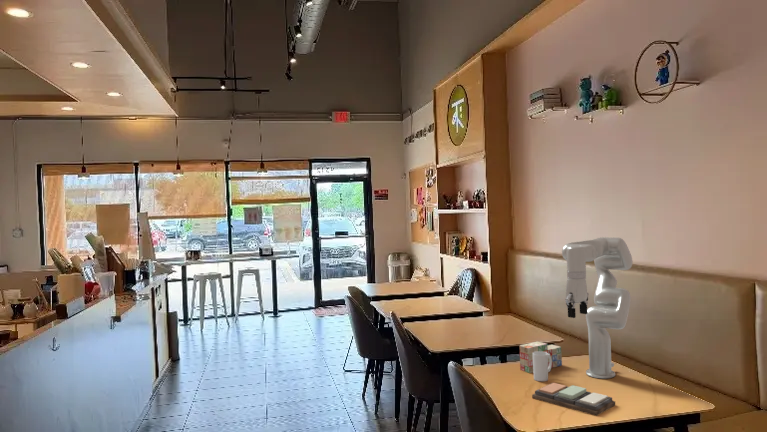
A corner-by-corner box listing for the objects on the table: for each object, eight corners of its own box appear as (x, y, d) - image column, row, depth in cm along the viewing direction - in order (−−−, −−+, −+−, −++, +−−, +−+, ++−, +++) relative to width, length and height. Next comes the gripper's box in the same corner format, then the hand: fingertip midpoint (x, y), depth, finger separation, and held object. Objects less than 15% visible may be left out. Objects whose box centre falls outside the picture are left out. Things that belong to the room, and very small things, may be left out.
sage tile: (572, 389, 229) (572, 385, 229) (586, 392, 225) (586, 388, 225) (558, 395, 222) (558, 392, 222) (572, 399, 218) (572, 395, 218)
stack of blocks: (552, 362, 277) (552, 338, 277) (562, 365, 272) (561, 340, 271) (519, 370, 267) (519, 344, 267) (529, 373, 262) (528, 347, 261)
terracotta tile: (553, 386, 236) (553, 382, 236) (566, 389, 232) (566, 385, 232) (539, 393, 229) (539, 389, 229) (552, 396, 224) (551, 392, 224)
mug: (540, 382, 248) (539, 356, 247) (530, 378, 254) (529, 352, 253) (557, 378, 252) (556, 352, 252) (547, 374, 258) (546, 349, 258)
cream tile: (593, 396, 223) (593, 392, 223) (607, 399, 218) (607, 395, 218) (579, 403, 215) (579, 399, 215) (594, 407, 211) (594, 403, 211)
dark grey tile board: (551, 388, 239) (551, 382, 239) (615, 405, 218) (615, 397, 218) (532, 398, 229) (532, 390, 229) (596, 415, 208) (596, 408, 208)
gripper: (578, 272, 243) (579, 311, 243) (557, 277, 231) (558, 317, 231) (595, 273, 237) (596, 313, 237) (574, 278, 225) (575, 320, 226)
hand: (577, 315), depth 234 cm, fingers open, 9 cm apart
